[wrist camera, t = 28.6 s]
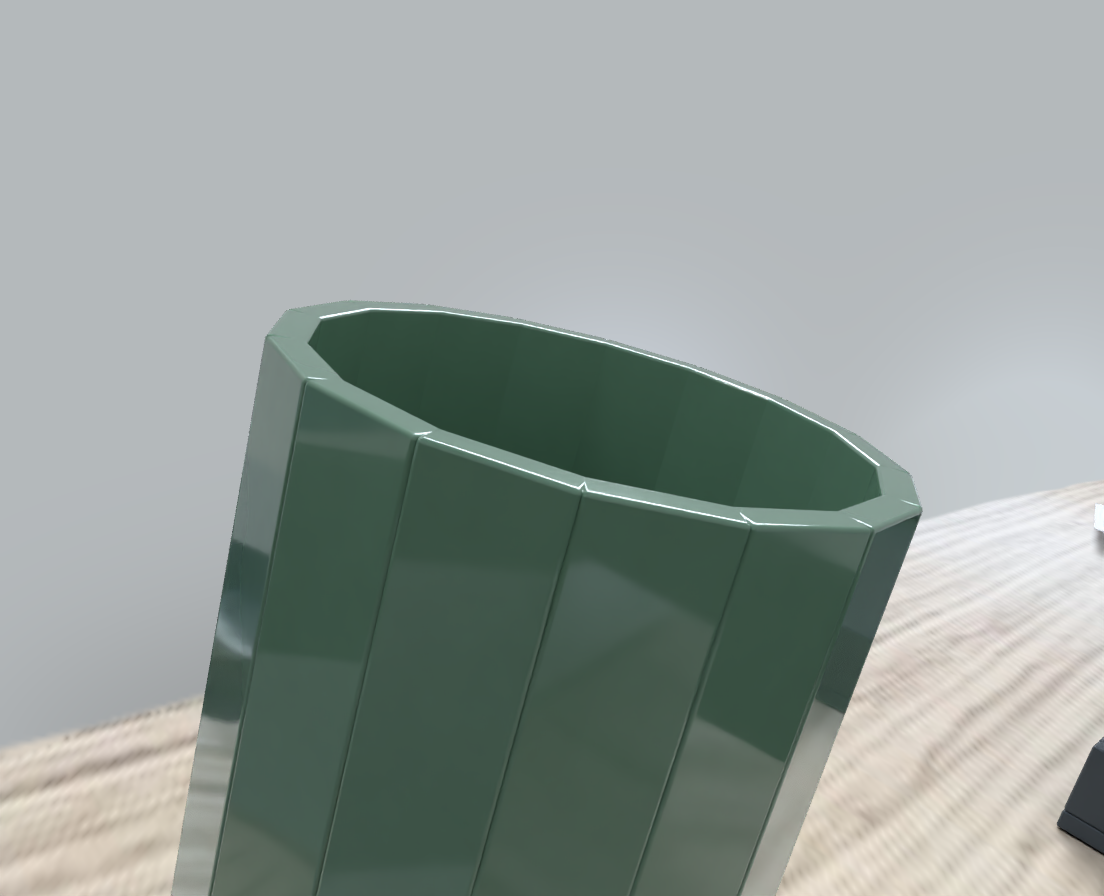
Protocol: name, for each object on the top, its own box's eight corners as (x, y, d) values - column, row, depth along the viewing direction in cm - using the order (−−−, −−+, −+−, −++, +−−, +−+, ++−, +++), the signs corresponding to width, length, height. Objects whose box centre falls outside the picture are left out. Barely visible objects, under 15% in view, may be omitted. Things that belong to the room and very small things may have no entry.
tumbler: (40, 1454, 10) (199, 414, 7) (196, 926, 16) (314, 271, 13) (683, 1464, 11) (1067, 588, 8) (592, 969, 17) (785, 380, 14)
